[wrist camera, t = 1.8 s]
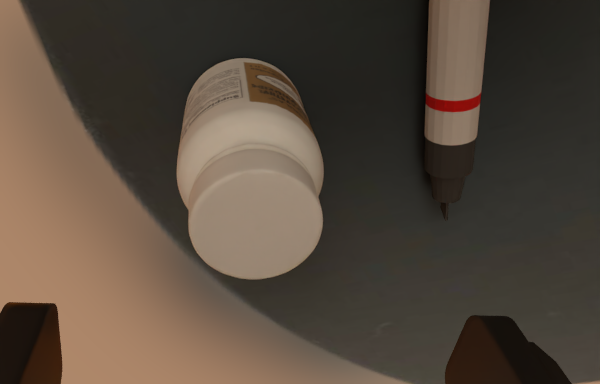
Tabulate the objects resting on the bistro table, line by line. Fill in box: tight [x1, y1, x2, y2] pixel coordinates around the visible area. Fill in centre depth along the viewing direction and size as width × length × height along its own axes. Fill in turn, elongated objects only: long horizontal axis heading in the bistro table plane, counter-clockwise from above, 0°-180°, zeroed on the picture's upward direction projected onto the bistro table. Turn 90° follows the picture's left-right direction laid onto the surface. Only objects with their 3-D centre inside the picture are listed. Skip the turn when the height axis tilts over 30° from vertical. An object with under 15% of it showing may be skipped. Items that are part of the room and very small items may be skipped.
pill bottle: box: [177, 58, 324, 279], centre depth 16 cm, size 4×4×8 cm
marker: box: [424, 0, 490, 221], centre depth 18 cm, size 15×2×2 cm, turn 6°
